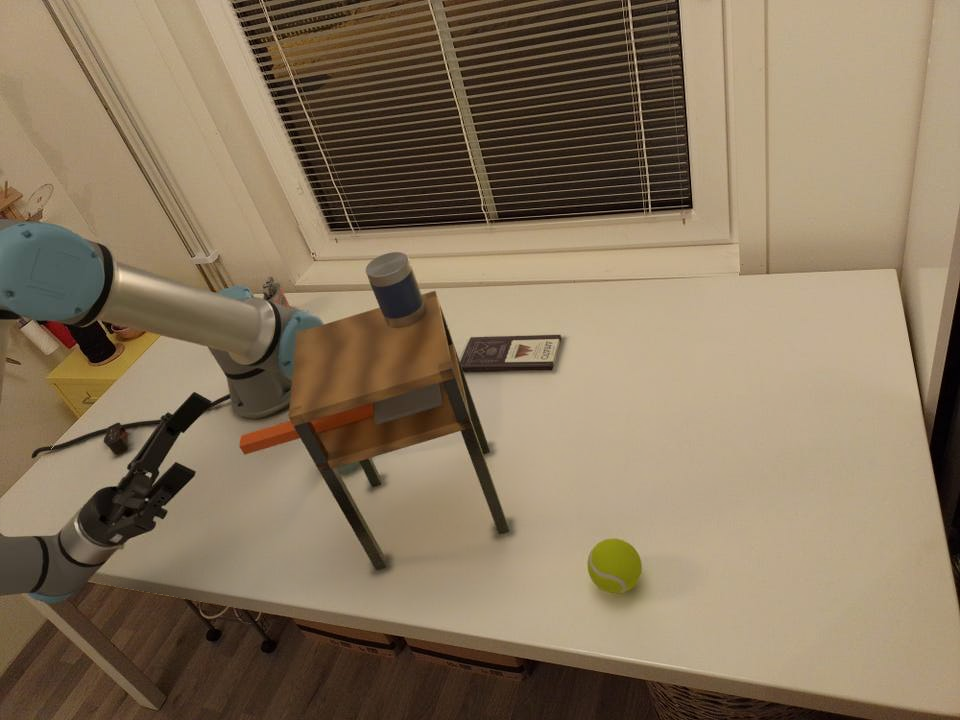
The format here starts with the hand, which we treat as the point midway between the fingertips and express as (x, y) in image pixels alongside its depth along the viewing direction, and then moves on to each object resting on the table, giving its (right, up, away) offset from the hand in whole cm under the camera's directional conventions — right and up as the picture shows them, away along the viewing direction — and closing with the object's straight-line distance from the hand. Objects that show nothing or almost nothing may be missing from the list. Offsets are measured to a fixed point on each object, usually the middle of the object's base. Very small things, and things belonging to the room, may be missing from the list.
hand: (194, 431), depth 90 cm
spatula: (+18, +1, +3) cm, 19 cm away
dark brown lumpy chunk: (-36, -8, +51) cm, 63 cm away
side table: (+30, -13, +18) cm, 37 cm away
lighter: (-9, +18, +73) cm, 76 cm away
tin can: (+27, +15, +3) cm, 31 cm away
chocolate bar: (+42, +10, +42) cm, 60 cm away
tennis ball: (+54, -19, 0) cm, 58 cm away
